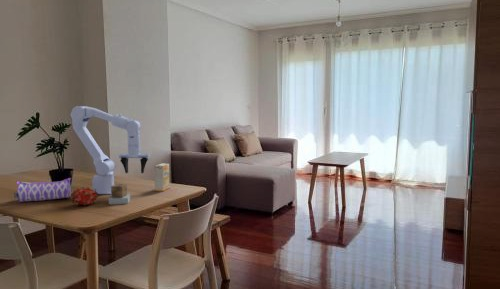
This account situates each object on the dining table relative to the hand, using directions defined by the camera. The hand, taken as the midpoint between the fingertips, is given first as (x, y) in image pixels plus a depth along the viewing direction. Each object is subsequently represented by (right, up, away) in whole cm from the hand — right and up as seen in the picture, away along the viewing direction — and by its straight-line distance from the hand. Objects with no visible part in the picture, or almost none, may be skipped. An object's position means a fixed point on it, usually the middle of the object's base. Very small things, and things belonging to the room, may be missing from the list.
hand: (134, 172), depth 181 cm
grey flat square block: (-2, -12, -16) cm, 20 cm away
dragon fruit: (-15, -12, -21) cm, 29 cm away
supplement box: (+12, -9, +8) cm, 17 cm away
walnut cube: (-2, -9, -16) cm, 19 cm away
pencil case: (-37, -11, -13) cm, 41 cm away
